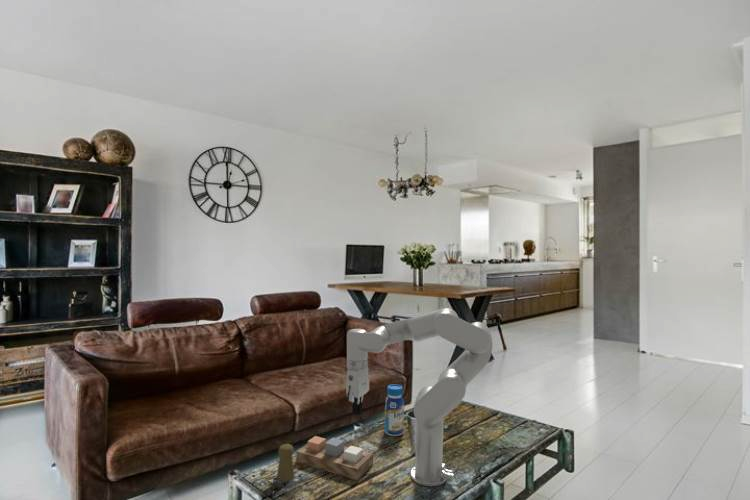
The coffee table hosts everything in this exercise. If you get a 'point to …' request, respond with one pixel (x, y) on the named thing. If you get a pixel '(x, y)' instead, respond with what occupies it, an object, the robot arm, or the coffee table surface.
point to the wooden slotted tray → (335, 462)
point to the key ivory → (353, 454)
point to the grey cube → (334, 447)
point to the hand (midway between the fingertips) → (357, 413)
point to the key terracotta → (316, 444)
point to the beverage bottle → (394, 410)
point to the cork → (285, 463)
